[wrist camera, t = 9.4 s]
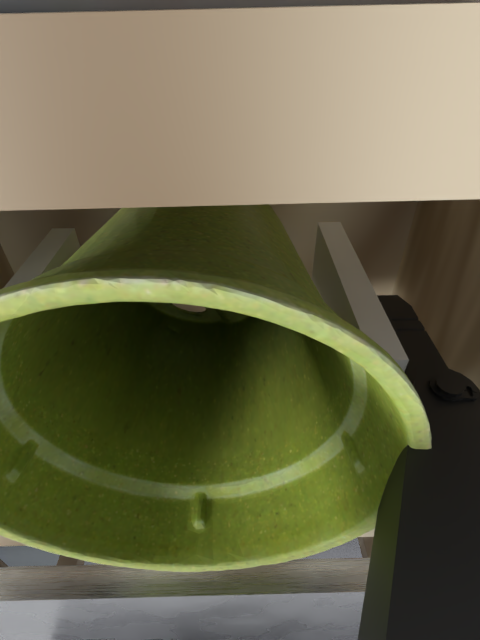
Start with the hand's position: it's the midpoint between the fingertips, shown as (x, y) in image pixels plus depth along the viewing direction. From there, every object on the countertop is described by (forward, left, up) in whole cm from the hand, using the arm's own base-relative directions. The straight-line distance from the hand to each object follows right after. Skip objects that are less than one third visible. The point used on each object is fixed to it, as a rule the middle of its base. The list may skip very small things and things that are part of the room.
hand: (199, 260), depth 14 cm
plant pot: (0, 0, 0) cm, 1 cm away
